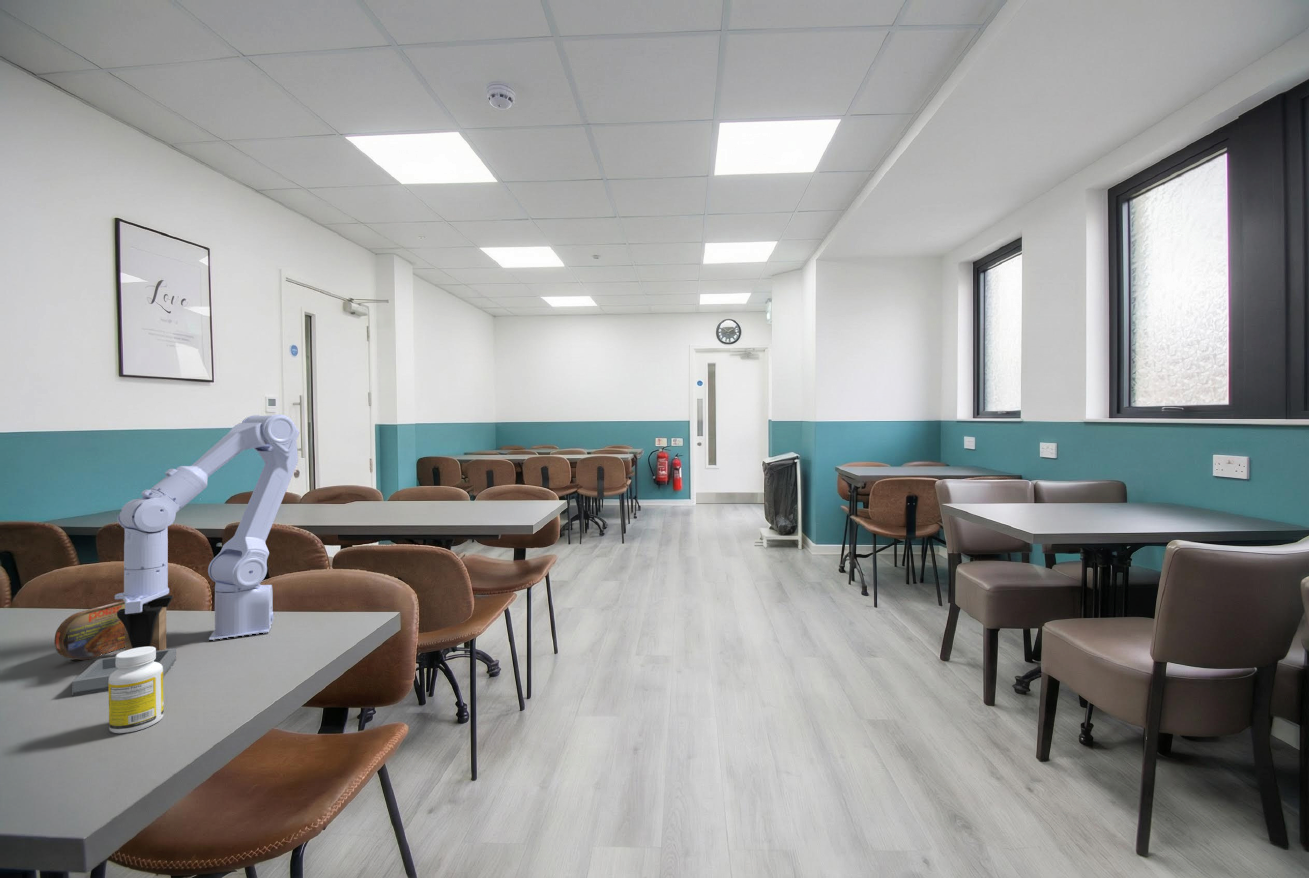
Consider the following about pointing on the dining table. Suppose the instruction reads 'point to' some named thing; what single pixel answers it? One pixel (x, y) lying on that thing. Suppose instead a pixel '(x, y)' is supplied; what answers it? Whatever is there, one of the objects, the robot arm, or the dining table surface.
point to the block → (154, 633)
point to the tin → (91, 633)
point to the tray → (102, 668)
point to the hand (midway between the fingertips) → (146, 643)
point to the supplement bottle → (135, 691)
